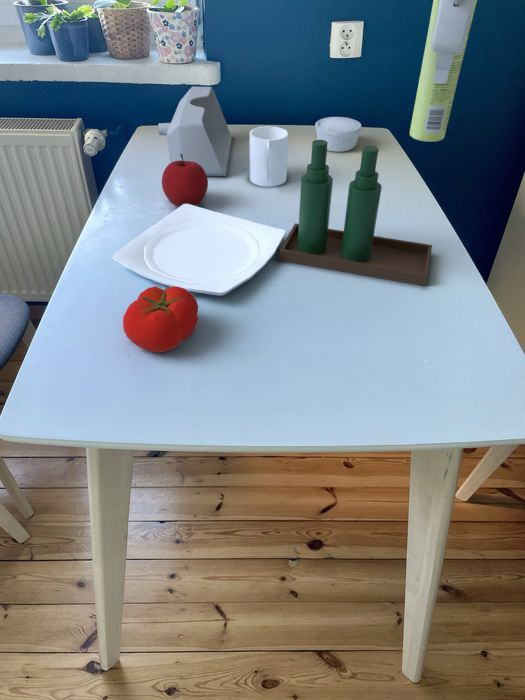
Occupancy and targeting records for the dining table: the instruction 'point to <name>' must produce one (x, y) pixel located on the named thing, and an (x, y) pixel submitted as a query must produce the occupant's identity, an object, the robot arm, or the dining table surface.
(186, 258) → the plate
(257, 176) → the cup
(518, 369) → the dining table surface
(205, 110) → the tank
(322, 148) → the bottle
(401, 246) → the tray
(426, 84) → the tube
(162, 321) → the tomato
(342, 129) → the ramekin
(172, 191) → the apple
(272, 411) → the dining table surface
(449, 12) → the robot arm
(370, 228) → the bottle
